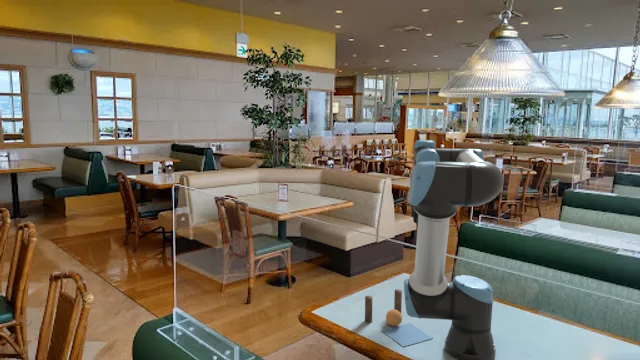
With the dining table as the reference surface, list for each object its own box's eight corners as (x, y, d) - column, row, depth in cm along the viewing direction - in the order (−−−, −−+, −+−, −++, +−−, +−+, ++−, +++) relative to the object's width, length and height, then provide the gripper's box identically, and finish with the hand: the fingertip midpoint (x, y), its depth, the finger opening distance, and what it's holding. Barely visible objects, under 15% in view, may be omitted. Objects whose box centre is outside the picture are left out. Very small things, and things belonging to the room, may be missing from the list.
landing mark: (432, 338, 150) (432, 338, 150) (403, 347, 145) (403, 346, 145) (410, 323, 160) (410, 322, 160) (381, 330, 155) (381, 330, 155)
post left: (373, 321, 162) (373, 298, 160) (367, 323, 160) (367, 299, 159) (369, 318, 164) (369, 295, 162) (363, 320, 163) (363, 296, 161)
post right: (402, 314, 167) (403, 291, 166) (396, 315, 166) (397, 292, 164) (398, 311, 169) (399, 288, 168) (392, 313, 168) (393, 290, 167)
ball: (397, 324, 162) (406, 324, 157) (384, 327, 159) (393, 328, 154) (394, 308, 163) (403, 308, 158) (381, 311, 160) (390, 311, 155)
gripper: (443, 183, 165) (440, 246, 169) (420, 178, 176) (418, 236, 180) (427, 185, 162) (424, 248, 165) (404, 179, 173) (403, 239, 177)
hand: (421, 242), depth 173 cm, fingers closed
